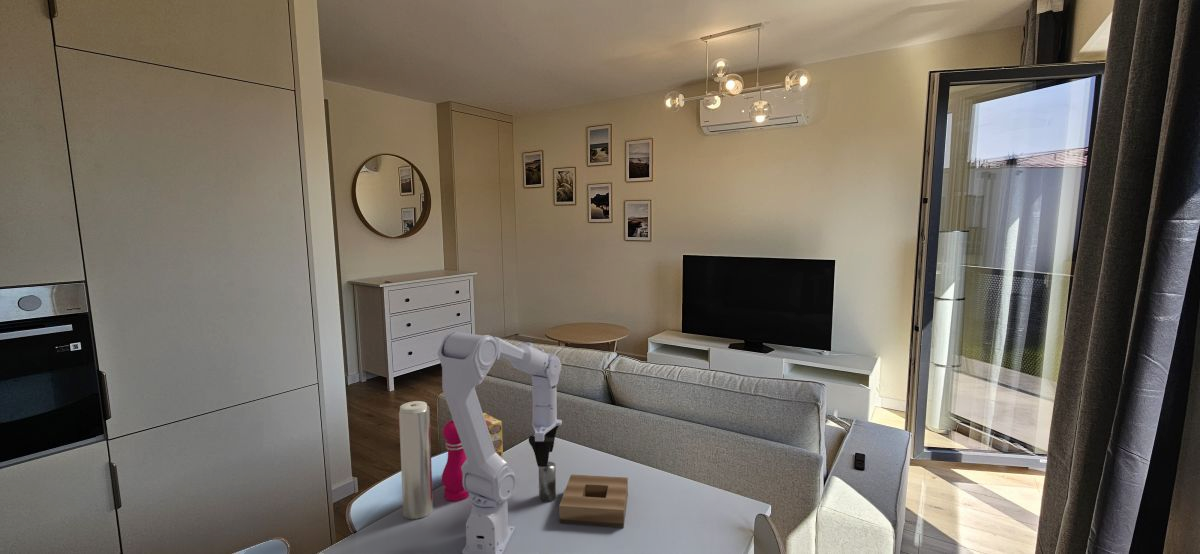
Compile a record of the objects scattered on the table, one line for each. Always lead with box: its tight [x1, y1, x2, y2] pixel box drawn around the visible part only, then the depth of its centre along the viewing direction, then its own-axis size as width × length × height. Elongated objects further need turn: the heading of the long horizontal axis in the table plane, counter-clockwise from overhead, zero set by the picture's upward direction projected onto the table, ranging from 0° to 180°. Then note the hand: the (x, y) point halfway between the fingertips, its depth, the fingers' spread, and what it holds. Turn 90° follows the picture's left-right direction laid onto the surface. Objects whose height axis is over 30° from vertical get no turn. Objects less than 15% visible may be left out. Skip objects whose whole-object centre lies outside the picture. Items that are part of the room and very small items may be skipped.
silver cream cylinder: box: [398, 400, 434, 520], centre depth 108 cm, size 6×6×25 cm
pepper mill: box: [441, 417, 469, 502], centre depth 116 cm, size 7×7×20 cm
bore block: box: [558, 474, 629, 529], centre depth 110 cm, size 14×14×4 cm
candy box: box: [483, 412, 504, 459], centre depth 125 cm, size 9×4×15 cm, turn 44°
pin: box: [538, 461, 557, 503], centre depth 114 cm, size 4×4×8 cm
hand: (545, 458), depth 115 cm, fingers open, 7 cm apart
